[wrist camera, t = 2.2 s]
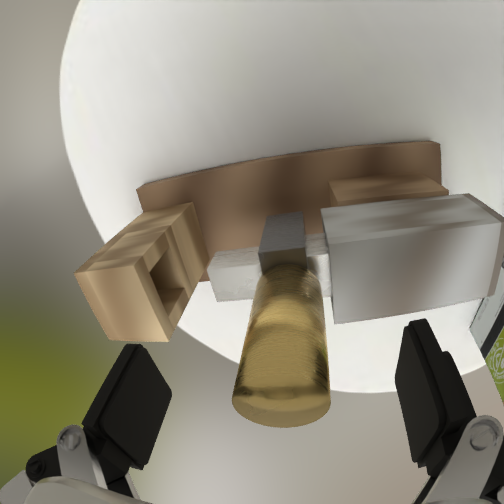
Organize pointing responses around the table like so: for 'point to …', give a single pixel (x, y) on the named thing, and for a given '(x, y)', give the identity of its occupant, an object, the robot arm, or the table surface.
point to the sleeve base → (355, 222)
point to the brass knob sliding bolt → (280, 322)
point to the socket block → (146, 274)
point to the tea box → (492, 332)
